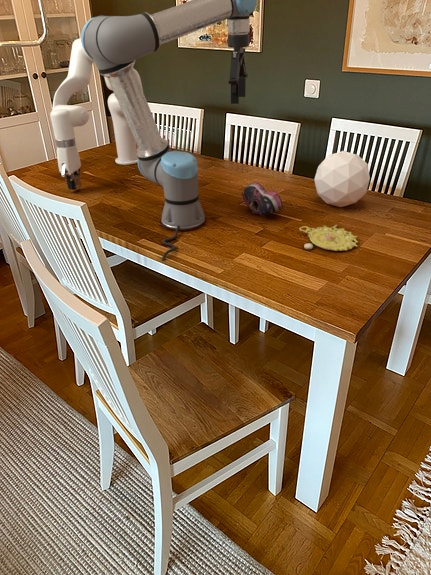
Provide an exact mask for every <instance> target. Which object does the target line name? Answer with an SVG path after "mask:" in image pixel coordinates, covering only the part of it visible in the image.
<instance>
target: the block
mask: <svg viewBox="0 0 431 575" xmlns="http://www.w3.org/2000/svg"><path fill="white" fill-rule="evenodd" d="M73 180H74V182H75V187H76V190H75V191H78V190H79V189H82V187H83V185H82V180H81V174H80V175H73ZM66 186H67V187H68V185H67V184H66Z"/></svg>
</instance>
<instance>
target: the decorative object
mask: <svg viewBox="0 0 431 575" xmlns="http://www.w3.org/2000/svg"><path fill="white" fill-rule="evenodd" d="M303 228H304V229H305V230H304V229H303ZM299 231H300V232H303V233H305V234H307V237H308V238H309V240H310V241H311V243H304V244H303V248H304V249H305V250H313V249H314V245H315V246H316V247H318V248H321V249H324V250H328V251H335V252H341V251H348V250H352V249H354V247H356V248H358V247H359V245H358V244H357V243H359V240H357V238H359V237H358V235H353V234H352V231H347V230H346V229H345V228H344V227H342V228H338V224H335V225H333V226H331V227H328V226H327V225H326V224H325V225H323V226H322V227H321V226H317V227H316V228H314V227H309V226H308V225H302V226H300V227H299ZM313 244H314V245H313Z"/></svg>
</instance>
